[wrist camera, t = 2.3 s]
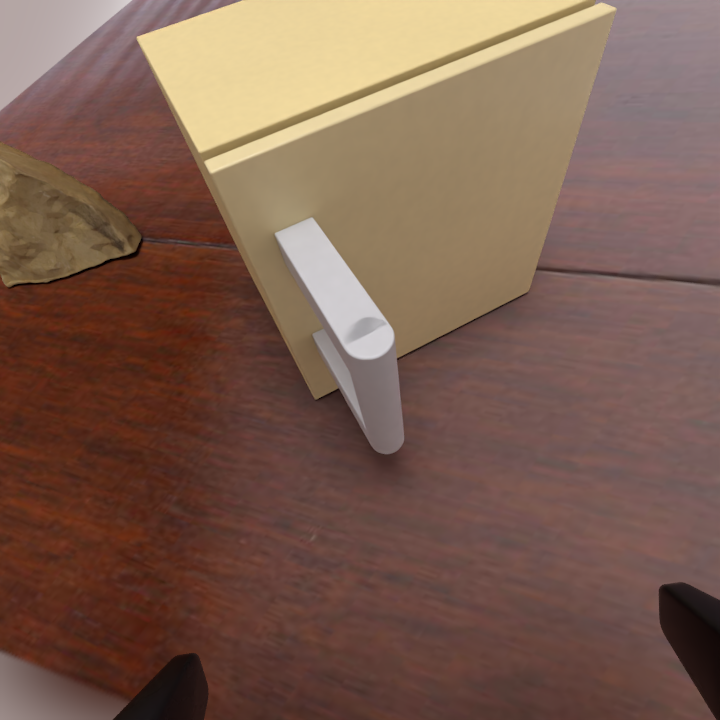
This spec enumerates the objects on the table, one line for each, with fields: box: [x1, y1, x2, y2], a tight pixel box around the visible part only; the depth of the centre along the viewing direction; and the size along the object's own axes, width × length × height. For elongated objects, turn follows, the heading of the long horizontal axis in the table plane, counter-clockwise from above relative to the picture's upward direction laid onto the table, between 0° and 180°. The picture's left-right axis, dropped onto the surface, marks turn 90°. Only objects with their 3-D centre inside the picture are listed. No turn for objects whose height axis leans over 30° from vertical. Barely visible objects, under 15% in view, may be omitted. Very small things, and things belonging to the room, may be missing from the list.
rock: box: [0, 142, 141, 287], centre depth 33 cm, size 11×9×10 cm
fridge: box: [137, 0, 596, 386], centre depth 24 cm, size 11×16×16 cm
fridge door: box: [204, 3, 616, 454], centre depth 19 cm, size 8×16×16 cm, turn 117°
